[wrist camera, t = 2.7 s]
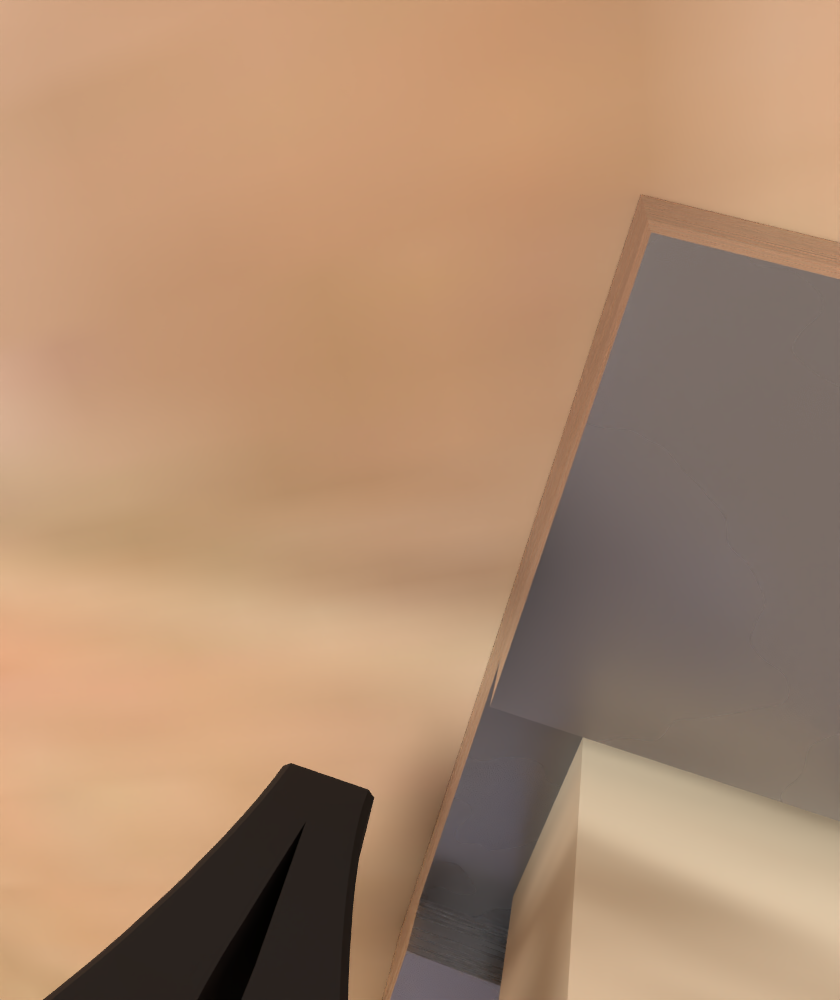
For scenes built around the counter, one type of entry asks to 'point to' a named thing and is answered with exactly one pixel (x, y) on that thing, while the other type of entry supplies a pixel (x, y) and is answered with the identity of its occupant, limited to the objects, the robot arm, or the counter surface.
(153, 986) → the robot arm
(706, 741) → the slotted plate
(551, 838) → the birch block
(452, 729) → the counter surface
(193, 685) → the counter surface
